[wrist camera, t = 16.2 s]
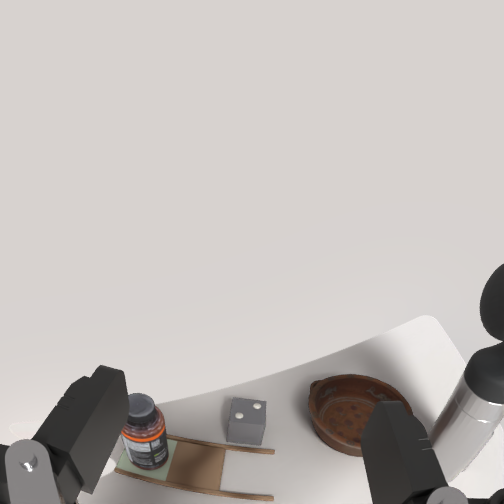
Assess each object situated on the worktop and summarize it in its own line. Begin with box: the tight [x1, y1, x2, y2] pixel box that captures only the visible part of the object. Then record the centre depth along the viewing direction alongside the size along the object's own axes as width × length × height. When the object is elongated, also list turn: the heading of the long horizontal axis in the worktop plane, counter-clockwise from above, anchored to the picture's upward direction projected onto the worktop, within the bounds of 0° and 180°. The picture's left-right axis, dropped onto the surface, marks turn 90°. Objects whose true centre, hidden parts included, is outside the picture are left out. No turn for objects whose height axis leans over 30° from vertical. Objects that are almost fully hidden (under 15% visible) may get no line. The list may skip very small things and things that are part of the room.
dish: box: [308, 374, 413, 457], centre depth 44 cm, size 17×22×5 cm
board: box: [114, 434, 275, 501], centre depth 36 cm, size 21×9×1 cm, turn 86°
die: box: [227, 397, 266, 445], centre depth 42 cm, size 5×5×5 cm
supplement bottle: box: [121, 393, 169, 470], centre depth 34 cm, size 6×6×11 cm
